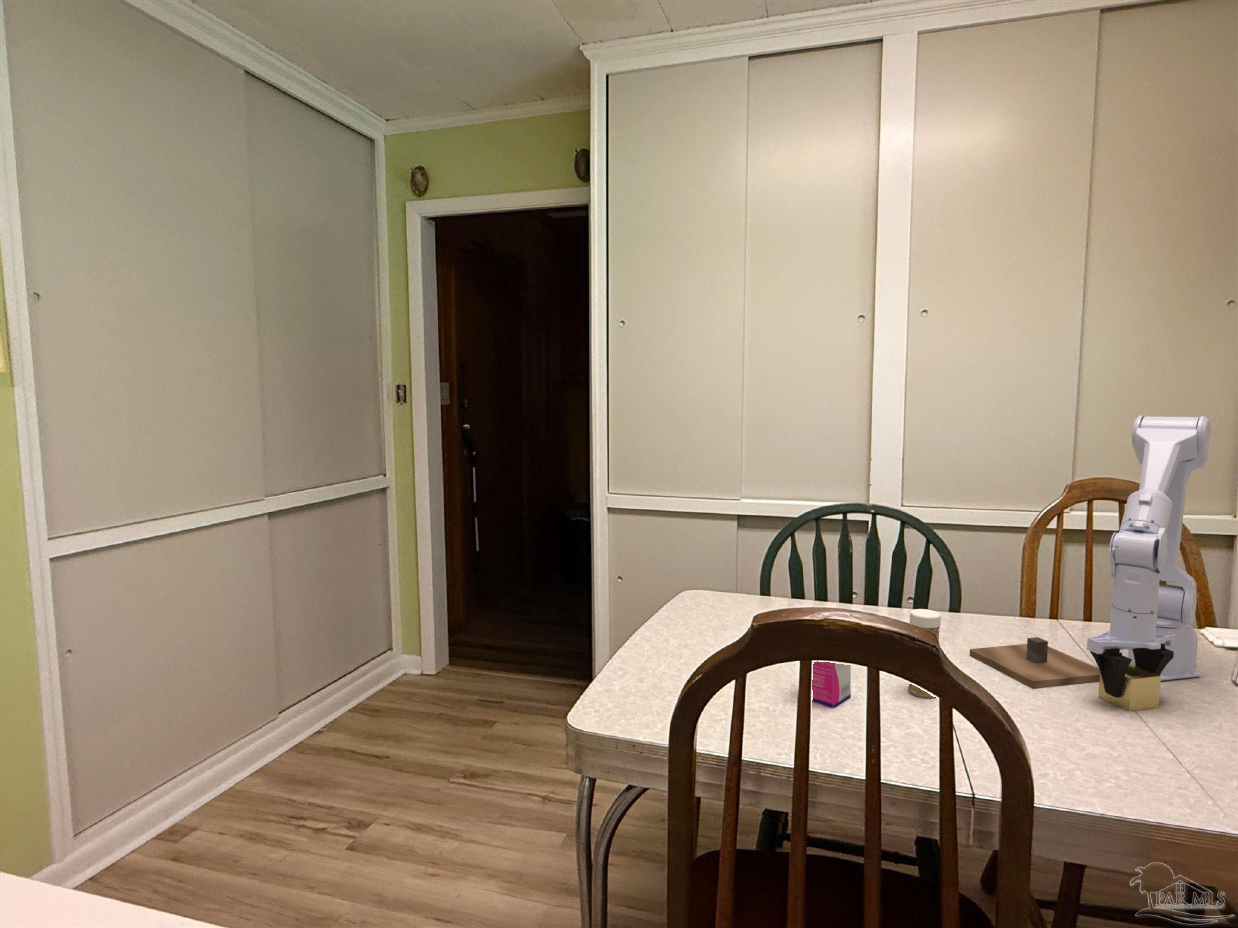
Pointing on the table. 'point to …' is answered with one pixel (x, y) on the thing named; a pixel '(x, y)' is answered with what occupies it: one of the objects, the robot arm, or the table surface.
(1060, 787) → the table surface
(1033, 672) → the post stand
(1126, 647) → the robot arm
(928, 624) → the sprinkles bottle
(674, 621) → the table surface
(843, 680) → the supplement box
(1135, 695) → the small tan open box
